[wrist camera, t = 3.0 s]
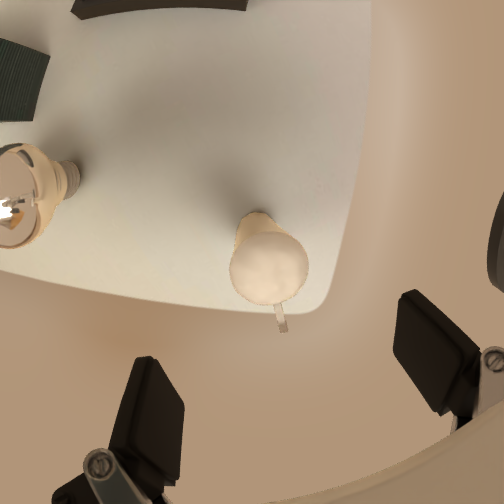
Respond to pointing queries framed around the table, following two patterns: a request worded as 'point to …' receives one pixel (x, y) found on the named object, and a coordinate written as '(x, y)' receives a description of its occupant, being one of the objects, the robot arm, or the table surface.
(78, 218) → the table surface
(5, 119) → the cassette player
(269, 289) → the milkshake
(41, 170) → the light bulb
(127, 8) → the scale
